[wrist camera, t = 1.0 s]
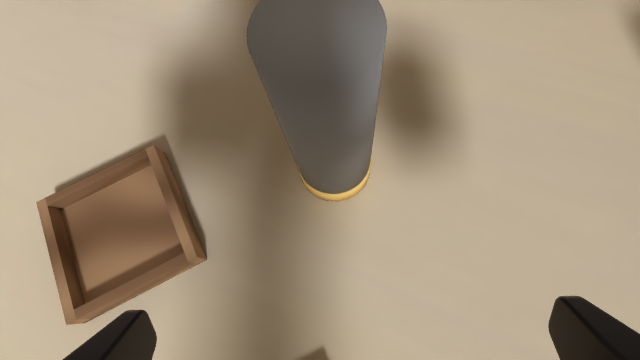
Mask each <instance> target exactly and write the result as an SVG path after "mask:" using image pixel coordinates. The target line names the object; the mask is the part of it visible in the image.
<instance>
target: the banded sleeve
mask: <svg viewBox="0 0 640 360" xmlns="http://www.w3.org/2000/svg"><path fill="white" fill-rule="evenodd" d="M386 30H387V24H386V17H385V13H384V10H383V8H382V6H381V4H380V2H379V1H378V0H261V1H260V2H259V4H258V5H257V6H256V8H255V9H254V11H253V13H252V15H251V18H250V20H249V24H248V28H247V44H248V48H249V51H250V54H251V56H252V59H253V61H254V63H255V66H256V68H257V71H258V73H259V75H260V78H261V80H262V83H263V85H264V87H265V90H266V92H267V95H268V97H269V99H270V102H271V104H272V107H273V109H274V111H275V114H276V116H277V119H278V121H279V123H280V126H281V128H282V131H283V133H284V135H285V138H286V140H287V142H288V145H289V147H290V150H291V152H292V154H293V157H294V159H295V162H296V164H297V167H298V171H299V173H300V176H301V178H302V180H303V183H304V185H305V186H306V188H307V189H308V190H309V191H310V192H311V193H312V194H314V195H315V196H317V197H319V198H321V199H323V200H327V201H342V200H345V199H348V198H351V197H353V196H354V195H356V194H357V193H358V192H359V191H360V190H361V189H362V188H363V187H364V186H365V184H366V182H367V180H368V178H369V174H370V167H371V152H372V144H373V136H374V128H375V120H376V112H377V104H378V96H379V88H380V80H381V72H382V64H383V56H384V47H385V39H386Z"/></svg>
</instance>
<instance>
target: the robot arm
mask: <svg viewBox="0 0 640 360" xmlns="http://www.w3.org/2000/svg"><path fill="white" fill-rule="evenodd" d="M549 333H550V336H551V338H552V341H553V343H554V346H555V348H556V351H557V353H558V355H559V358H560V360H640V334H639V333H637V332H636V331H634V330H633V329H631V328H630V327H628V326H626V325H625V324H623V323H622V322H620V321H619V320H617V319H615V318H614V317H612V316H611V315H609V314H608V313H606V312H604V311H603V310H601V309H600V308H598V307H596V306H595V305H593V304H592V303H590V302H589V301H587V300H585V299H584V298H582V297H580V296H560V297H558V298H557V299H556V300H555V303H554V306H553V310H552V313H551V317H550V320H549ZM156 341H157V336H156V332H155V330H154V327H153V325H152V323H151V320H150V318H149V316H148V314H147V312H146V311H144V310H129V311H126V312H124V313H122V314H121V315H120V316H118V317H117V318H116V319H115V320H113V321H112V322H111V323H109V324H108V325H107V326H105V327H104V328H103V329H102V330H100V331H99V332H98V333H96V334H95V335H94V336H93V337H91V338H90V339H89V340H87V341H86V342H85V343H84V344H82V345H81V346H80V347H78V348H77V349H76V350H75V351H73V352H72V353H71V354H69V355H68V356H67V357H65V358H64V359H63V360H152V357H153V353H154V350H155V347H156Z"/></svg>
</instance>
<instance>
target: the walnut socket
mask: <svg viewBox="0 0 640 360" xmlns="http://www.w3.org/2000/svg"><path fill="white" fill-rule="evenodd" d="M36 203H37V207H38V211H39V215H40V219H41V223H42V227H43V231H44V235H45V239H46V243H47V247H48V252H49V256H50V260H51V264H52V268H53V272H54V276H55V280H56V284H57V288H58V292H59V296H60V301H61V305H62V309H63V313H64V317H65V321H66V325H68V324H80V323H86V322H88V321H90V320H92V319H94V318H95V317H97V316H99V315H101V314H103V313H105V312H107V311H109V310H111V309H113V308H115V307H117V306H119V305H120V304H122V303H124V302H126V301H128V300H130V299H132V298H134V297H136V296H138V295H140V294H142V293H144V292H145V291H147V290H149V289H151V288H153V287H155V286H157V285H159V284H161V283H163V282H165V281H167V280H169V279H170V278H172V277H174V276H176V275H178V274H180V273H182V272H184V271H186V270H188V269H190V268H192V267H194V266H196V265H197V264H199V263H201V262H203V261H205V260H207V259H206V256H205V254H204V251H203V249H202V246H201V244H200V241H199V239H198V236H197V233H196V231H195V228H194V226H193V223H192V221H191V218H190V216H189V213H188V211H187V208H186V206H185V203H184V201H183V198H182V195H181V193H180V190H179V188H178V185H177V183H176V180H175V178H174V175H173V173H172V170H171V168H170V165H169V163H168V160H167V157H166V155H165V153H164V152H162V151H161V150H160V149H159V148H157V147H156V146H155V145H152V146H150V147H148V148H146V149H144V150H142V151H140V152H138V153H136V154H134V155H132V156H130V157H128V158H126V159H124V160H122V161H119V162H117V163H115V164H113V165H111V166H109V167H107V168H105V169H103V170H101V171H99V172H97V173H95V174H93V175H91V176H89V177H87V178H85V179H83V180H81V181H79V182H77V183H75V184H73V185H71V186H68V187H66V188H64V189H62V190H60V191H58V192H56V193H54V194H52V195H50V196H48V197H46V198H44V199H42V200H40V201H38V202H36Z"/></svg>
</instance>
